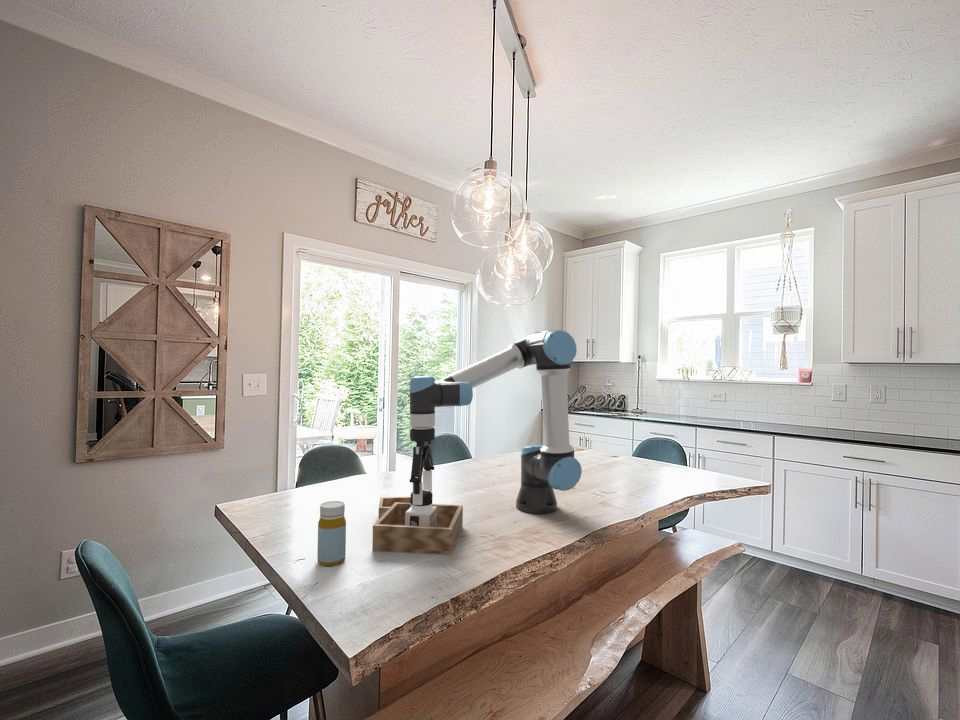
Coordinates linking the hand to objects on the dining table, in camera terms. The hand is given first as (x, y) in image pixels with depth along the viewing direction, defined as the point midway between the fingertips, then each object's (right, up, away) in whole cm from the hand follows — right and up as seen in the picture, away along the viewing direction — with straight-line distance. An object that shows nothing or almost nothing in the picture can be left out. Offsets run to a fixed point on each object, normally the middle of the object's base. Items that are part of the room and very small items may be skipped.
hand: (422, 497), depth 140 cm
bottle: (-22, -12, -18) cm, 31 cm away
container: (-1, -11, 0) cm, 11 cm away
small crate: (-11, -12, +16) cm, 23 cm away
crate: (-1, -12, 0) cm, 12 cm away
